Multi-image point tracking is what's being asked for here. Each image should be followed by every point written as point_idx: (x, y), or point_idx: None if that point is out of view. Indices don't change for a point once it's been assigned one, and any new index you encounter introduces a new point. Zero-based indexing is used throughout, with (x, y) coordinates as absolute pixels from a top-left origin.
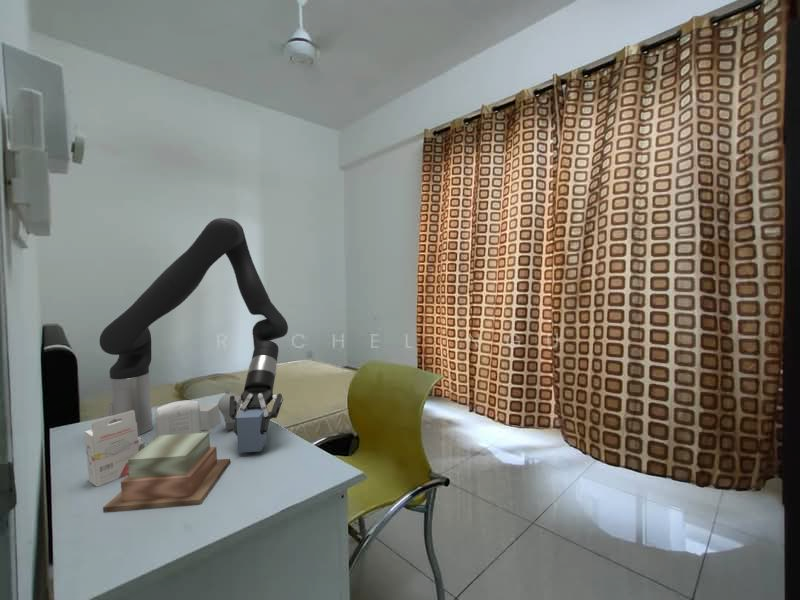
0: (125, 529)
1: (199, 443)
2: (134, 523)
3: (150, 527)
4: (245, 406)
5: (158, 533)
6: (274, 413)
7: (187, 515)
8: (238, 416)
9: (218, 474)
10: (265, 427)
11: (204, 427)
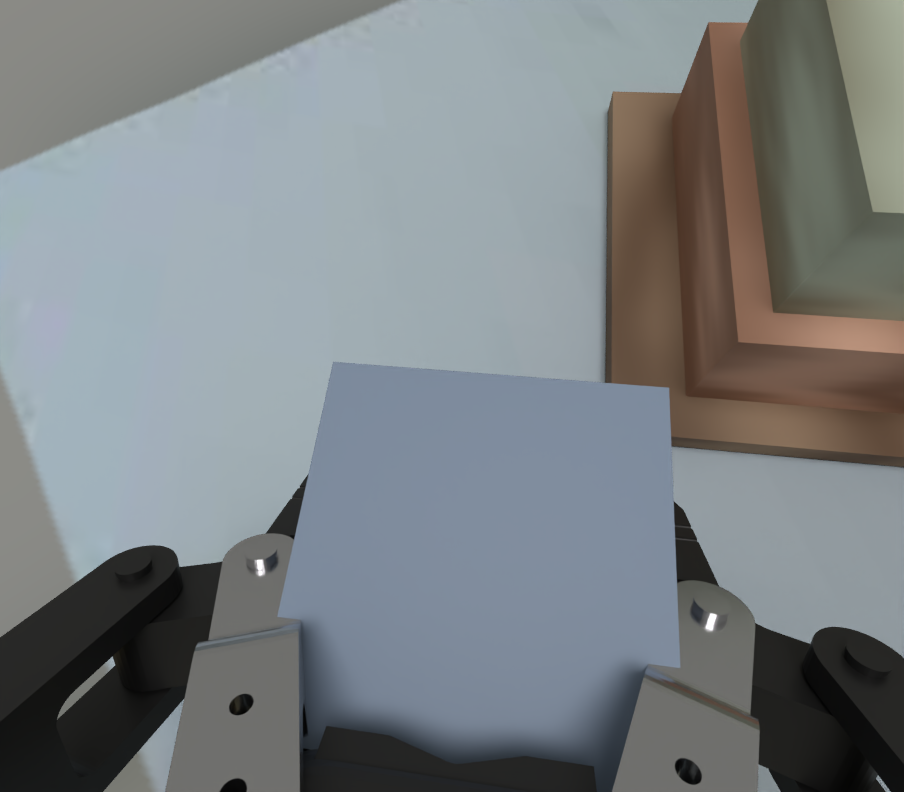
0: None
1: (828, 59)
2: None
3: None
4: (645, 726)
5: (685, 6)
6: (131, 551)
7: (629, 65)
8: (659, 438)
9: (613, 258)
10: None
11: None
